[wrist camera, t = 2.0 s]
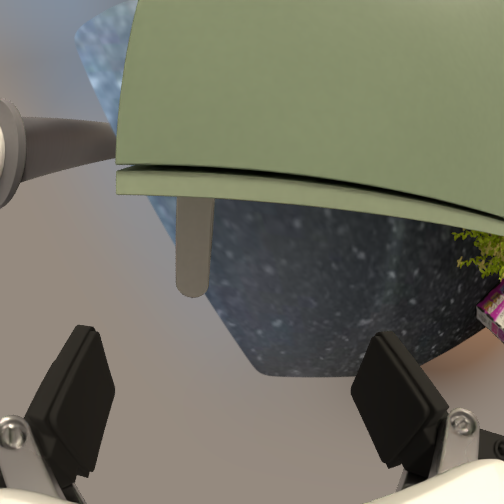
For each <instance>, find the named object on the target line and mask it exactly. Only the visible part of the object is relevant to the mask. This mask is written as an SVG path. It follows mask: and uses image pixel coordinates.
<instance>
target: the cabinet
mask: <svg viewBox="0 0 504 504" xmlns="http://www.w3.org/2000/svg"><path fill="white" fill-rule="evenodd" d="M115 163H116V165H178V166H201V167H218V168H232V169H245V170H256V171H267V172H277V173H286V174H294V175H302V176H310V177H318V178H325V179H332V180H338V181H345V182H351V183H357V184H363V185H369V186H374V187H380V188H385V189H390V190H395V191H400V192H405V193H410V194H415V195H419V196H424V197H428V198H433V199H437V200H441V201H445V202H449V203H453V204H457V205H461V206H465V207H468V208H472V209H476V210H479V211H483V212H486V213H490V214H493V215H497V216H500V217H503V218H504V0H138V4H137V8H136V11H135V16H134V20H133V24H132V29H131V33H130V38H129V43H128V48H127V54H126V59H125V66H124V72H123V79H122V86H121V94H120V103H119V113H118V125H117V139H116V162H115Z"/></svg>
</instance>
